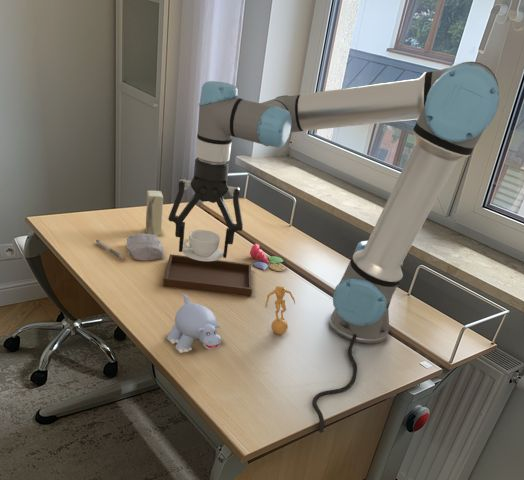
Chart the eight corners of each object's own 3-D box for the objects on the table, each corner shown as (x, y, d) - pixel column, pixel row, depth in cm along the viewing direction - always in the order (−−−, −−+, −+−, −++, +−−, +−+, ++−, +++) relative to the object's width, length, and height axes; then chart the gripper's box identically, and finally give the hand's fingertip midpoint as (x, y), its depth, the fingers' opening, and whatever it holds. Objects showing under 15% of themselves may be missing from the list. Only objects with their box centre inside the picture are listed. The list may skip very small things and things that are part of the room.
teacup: (213, 244, 139) (215, 226, 136) (229, 261, 132) (232, 243, 129) (176, 246, 134) (177, 228, 131) (190, 264, 127) (192, 246, 124)
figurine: (267, 339, 131) (275, 296, 125) (256, 326, 136) (263, 283, 129) (296, 335, 135) (305, 292, 128) (284, 322, 139) (293, 280, 133)
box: (145, 229, 175) (146, 189, 168) (159, 229, 176) (160, 190, 169) (147, 236, 171) (148, 195, 164) (161, 236, 172) (163, 196, 165)
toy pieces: (243, 265, 164) (245, 251, 161) (252, 251, 173) (254, 238, 170) (281, 274, 162) (284, 261, 160) (289, 260, 171) (291, 247, 169)
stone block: (132, 266, 156) (166, 259, 159) (128, 251, 153) (163, 243, 156) (125, 250, 165) (157, 243, 168) (121, 235, 162) (155, 228, 165)
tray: (250, 296, 148) (251, 289, 147) (162, 286, 146) (163, 278, 144) (250, 271, 161) (251, 264, 160) (169, 261, 158) (170, 254, 157)
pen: (97, 242, 161) (97, 238, 161) (125, 261, 154) (125, 256, 154) (94, 243, 161) (94, 239, 160) (122, 262, 154) (122, 257, 153)
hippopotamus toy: (191, 367, 118) (195, 330, 112) (160, 332, 127) (162, 296, 122) (233, 356, 124) (239, 320, 118) (200, 323, 133) (204, 288, 128)
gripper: (262, 162, 124) (249, 252, 137) (163, 147, 122) (158, 240, 135) (263, 172, 118) (249, 265, 131) (158, 156, 116) (153, 252, 128)
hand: (203, 252), depth 133 cm, fingers closed on teacup, 10 cm apart
